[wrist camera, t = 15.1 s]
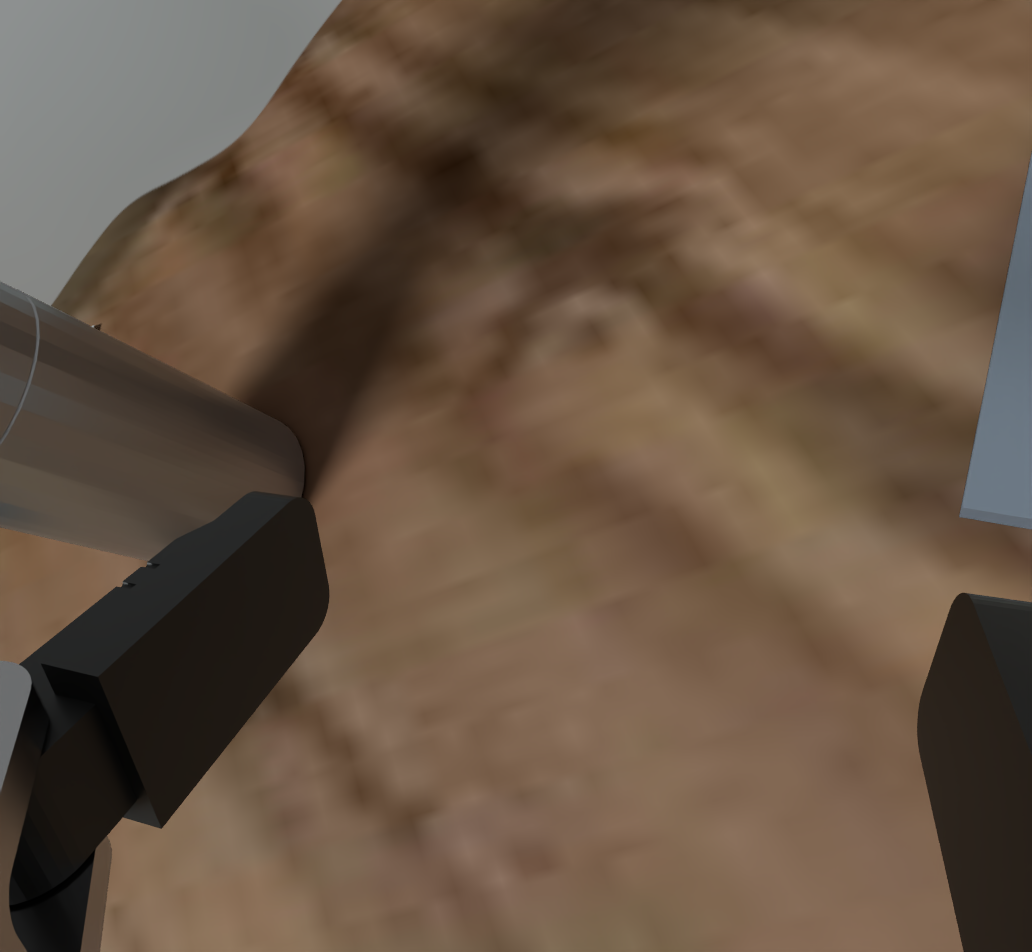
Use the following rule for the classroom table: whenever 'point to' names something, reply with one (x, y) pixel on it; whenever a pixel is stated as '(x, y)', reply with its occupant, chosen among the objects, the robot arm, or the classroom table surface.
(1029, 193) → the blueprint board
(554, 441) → the classroom table surface
